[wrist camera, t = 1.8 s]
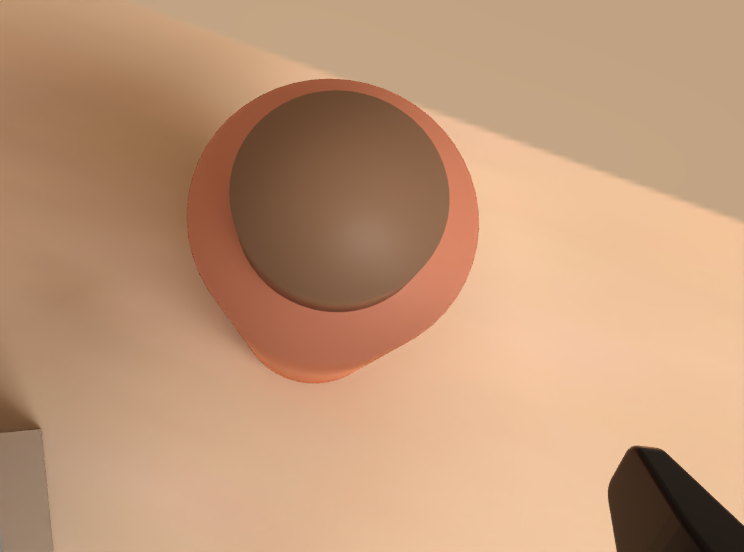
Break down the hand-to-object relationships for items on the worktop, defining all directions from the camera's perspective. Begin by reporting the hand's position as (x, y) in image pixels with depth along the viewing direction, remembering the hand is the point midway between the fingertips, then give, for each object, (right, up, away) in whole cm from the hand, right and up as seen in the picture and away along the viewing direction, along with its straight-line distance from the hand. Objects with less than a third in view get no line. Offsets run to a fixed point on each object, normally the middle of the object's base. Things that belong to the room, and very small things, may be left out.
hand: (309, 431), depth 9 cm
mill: (-1, +1, +11) cm, 11 cm away
